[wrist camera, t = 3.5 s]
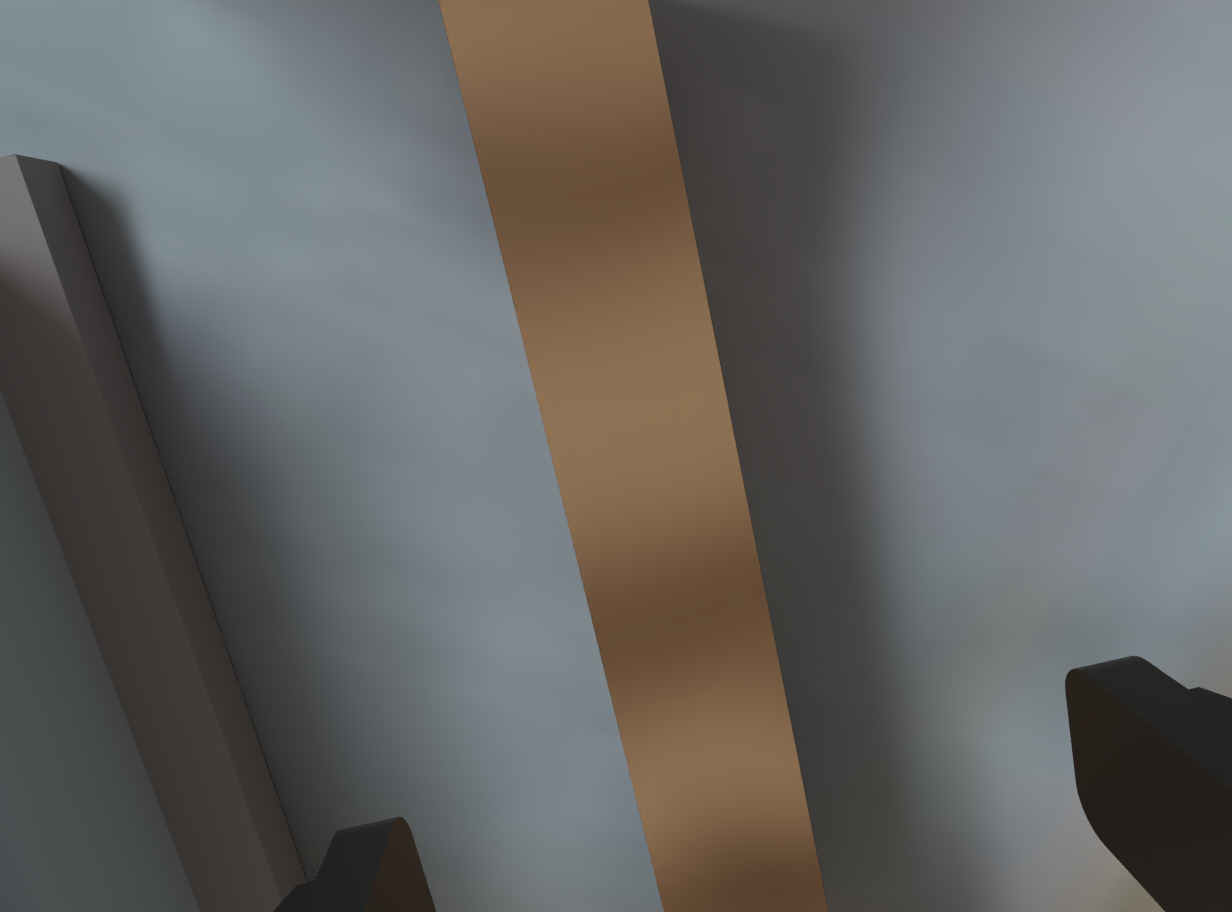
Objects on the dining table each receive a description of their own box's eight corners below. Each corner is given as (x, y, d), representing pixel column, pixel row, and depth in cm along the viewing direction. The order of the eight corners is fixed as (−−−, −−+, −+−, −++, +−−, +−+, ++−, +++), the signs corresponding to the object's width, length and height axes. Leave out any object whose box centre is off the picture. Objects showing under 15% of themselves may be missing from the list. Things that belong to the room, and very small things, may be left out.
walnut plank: (464, 24, 19) (418, -80, 13) (606, -9, 19) (623, -128, 13) (684, 931, 25) (720, 1140, 19) (795, 905, 25) (866, 1107, 19)
